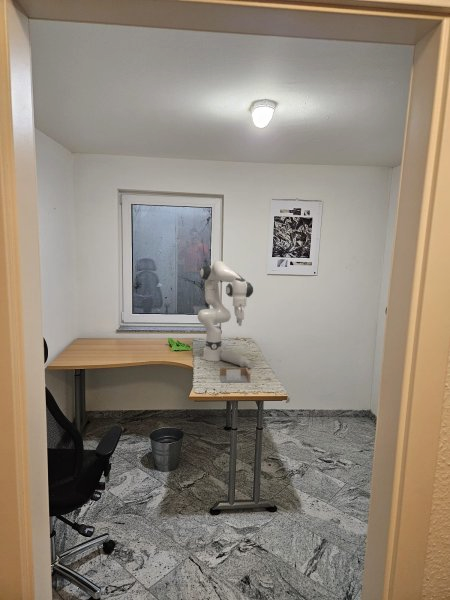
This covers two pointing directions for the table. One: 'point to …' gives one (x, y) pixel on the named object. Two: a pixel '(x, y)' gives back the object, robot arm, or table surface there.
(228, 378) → the bracket
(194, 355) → the table surface
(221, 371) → the tray
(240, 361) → the bottle
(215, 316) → the robot arm
